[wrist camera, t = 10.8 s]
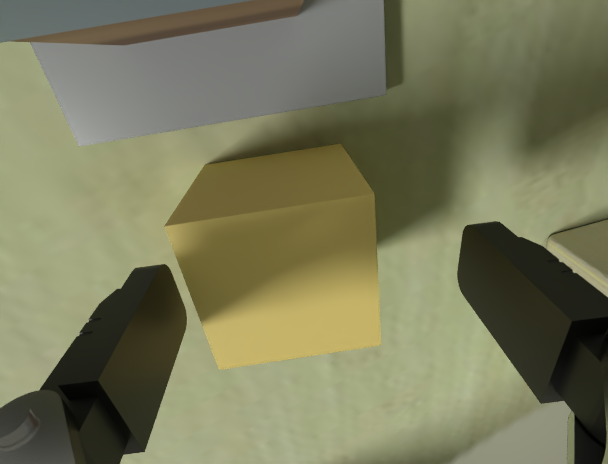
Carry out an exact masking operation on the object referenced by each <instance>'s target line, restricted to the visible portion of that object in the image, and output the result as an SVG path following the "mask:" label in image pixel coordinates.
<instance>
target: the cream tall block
mask: <svg viewBox="0 0 608 464" xmlns="http://www.w3.org/2000/svg"><path fill="white" fill-rule="evenodd" d="M546 249H547V250H548V251H549V252H551V253H552V254H553V255H554V256H556V257H557V258H558V259H559V261H560V262H563V263H565V264H566V265H567V266H568V267H570V268H571V269H572V270H573V273H577V274H579V275H580V276H581V277H583V278H584V279H585V280H586V281H588V282H589V283H590V284H592V285H593V286H594V287H595V288H597V289H598V290H599V291H600V292H602V293H603V294H604V295H606V296H607V297H608V220H604V221H601V222H597V223H593V224H590V225H586V226H582V227H579V228H575V229H571V230H568V231H564V232H561V233H557V234H554V235H551V236H550V237H549V238H548V241H547V247H546Z"/></svg>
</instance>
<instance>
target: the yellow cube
mask: <svg viewBox="0 0 608 464" xmlns="http://www.w3.org/2000/svg"><path fill="white" fill-rule="evenodd" d="M164 227H165V229H166V232H167V235H168V237H169V240H170V243H171V245H172V248H173V250H174V253H175V256H176V258H177V261H178V263H179V266H180V269H181V271H182V274H183V277H184V279H185V282H186V284H187V287H188V290H189V292H190V295H191V297H192V300H193V303H194V305H195V308H196V311H197V313H198V316H199V318H200V321H201V324H202V326H203V329H204V331H205V334H206V337H207V339H208V342H209V345H210V347H211V350H212V352H213V355H214V358H215V360H216V363H217V365H218V368H219V370H221V369H228V368H234V367H241V366H248V365H254V364H261V363H267V362H274V361H280V360H287V359H294V358H300V357H307V356H313V355H320V354H327V353H333V352H340V351H346V350H353V349H360V348H366V347H373V346H379V345H381V332H380V308H379V285H378V261H377V237H376V213H375V193H374V192H373V190H372V189H371V188H370V186H369V185H368V183H367V182H366V180H365V179H364V177H363V176H362V174H361V173H360V171H359V170H358V168H357V167H356V165H355V164H354V162H353V161H352V159H351V158H350V156H349V155H348V154H347V152H346V151H345V149H344V148H343V146H342V145H341V144H335V145H328V146H322V147H316V148H309V149H303V150H296V151H290V152H284V153H277V154H271V155H264V156H258V157H252V158H245V159H239V160H232V161H226V162H220V163H213V164H207V165H204V167H203V168H202V170H201V171H200V173H199V174H198V176H197V178H196V179H195V181H194V182H193V184H192V185H191V187H190V188H189V190H188V191H187V193H186V194H185V196H184V197H183V199H182V200H181V202H180V203H179V205H178V206H177V208H176V209H175V211H174V212H173V214H172V216H171V217H170V219H169V220H168V222H167V223H166V225H165V226H164Z"/></svg>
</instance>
